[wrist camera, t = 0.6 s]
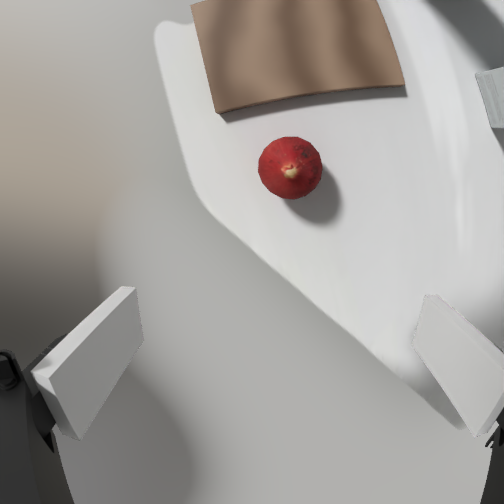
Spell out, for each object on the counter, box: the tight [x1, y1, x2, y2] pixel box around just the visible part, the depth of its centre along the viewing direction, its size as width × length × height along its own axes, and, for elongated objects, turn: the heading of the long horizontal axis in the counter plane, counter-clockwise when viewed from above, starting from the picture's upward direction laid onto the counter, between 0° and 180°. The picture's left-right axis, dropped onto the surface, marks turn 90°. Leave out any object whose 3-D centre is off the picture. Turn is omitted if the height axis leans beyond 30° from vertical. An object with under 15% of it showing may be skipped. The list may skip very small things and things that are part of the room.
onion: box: [258, 137, 322, 199], centre depth 25 cm, size 6×6×8 cm
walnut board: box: [191, 0, 405, 114], centre depth 23 cm, size 20×14×2 cm
